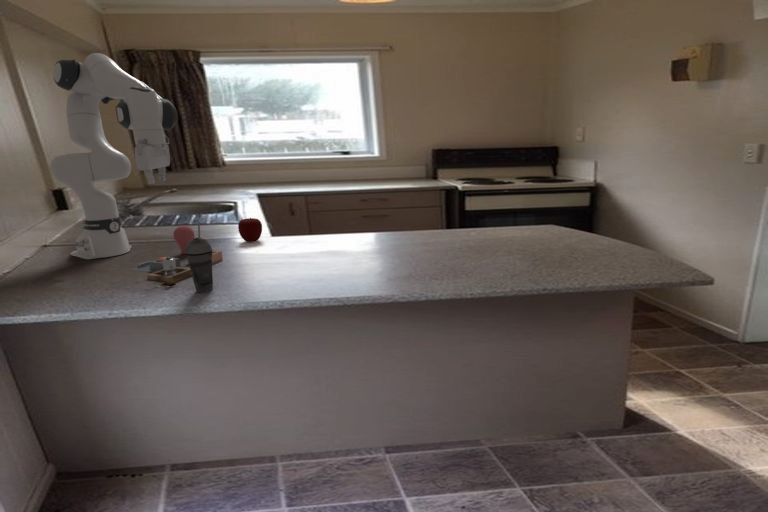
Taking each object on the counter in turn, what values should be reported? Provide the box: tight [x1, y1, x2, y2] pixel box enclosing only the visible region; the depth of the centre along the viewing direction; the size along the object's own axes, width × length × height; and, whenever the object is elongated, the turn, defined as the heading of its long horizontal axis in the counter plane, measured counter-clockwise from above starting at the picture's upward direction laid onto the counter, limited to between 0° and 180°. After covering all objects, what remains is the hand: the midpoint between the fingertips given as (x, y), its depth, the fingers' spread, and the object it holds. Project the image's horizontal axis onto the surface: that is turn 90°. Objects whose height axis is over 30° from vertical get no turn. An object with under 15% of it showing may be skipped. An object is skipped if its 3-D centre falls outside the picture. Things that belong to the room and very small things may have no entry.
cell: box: [162, 256, 178, 276], centre depth 143 cm, size 4×4×7 cm
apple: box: [237, 217, 263, 243], centre depth 190 cm, size 10×10×10 cm
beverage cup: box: [184, 222, 214, 294], centre depth 131 cm, size 7×7×20 cm
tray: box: [146, 266, 192, 287], centre depth 143 cm, size 9×9×3 cm
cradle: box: [130, 256, 186, 273], centre depth 153 cm, size 14×10×4 cm
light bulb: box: [173, 225, 195, 255], centre depth 169 cm, size 7×7×12 cm
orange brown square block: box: [186, 250, 224, 266], centre depth 158 cm, size 8×8×4 cm
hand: (157, 182), depth 152 cm, fingers open, 8 cm apart
